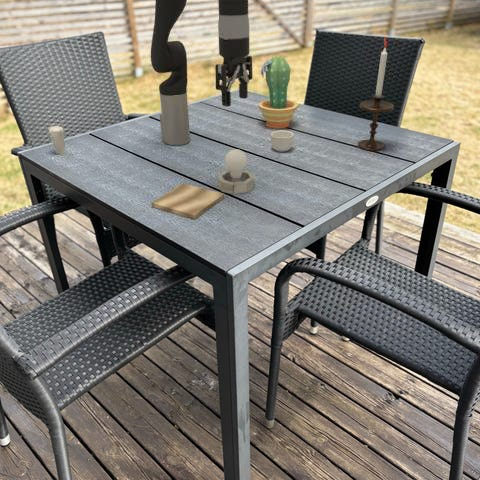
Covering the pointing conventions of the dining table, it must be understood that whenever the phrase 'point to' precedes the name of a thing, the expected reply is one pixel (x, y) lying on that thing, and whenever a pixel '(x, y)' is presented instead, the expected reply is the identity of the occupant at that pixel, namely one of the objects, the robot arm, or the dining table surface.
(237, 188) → the collar
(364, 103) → the candlestick
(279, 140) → the teacup
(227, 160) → the lightbulb
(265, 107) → the potted cactus
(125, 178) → the dining table surface
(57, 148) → the milkshake
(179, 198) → the oak board
